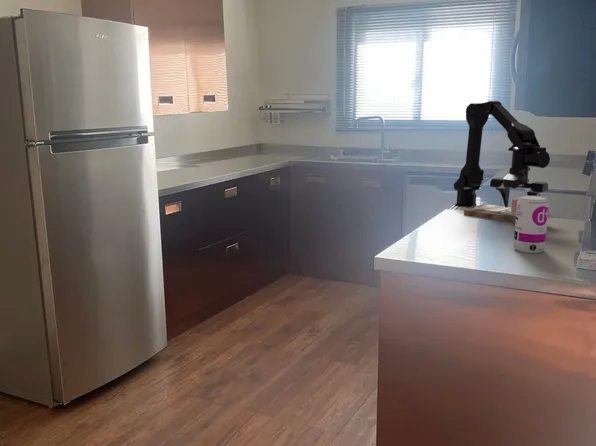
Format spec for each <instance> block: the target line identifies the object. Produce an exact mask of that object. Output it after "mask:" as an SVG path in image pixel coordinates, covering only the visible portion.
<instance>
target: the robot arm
mask: <svg viewBox="0 0 596 446" xmlns="http://www.w3.org/2000/svg"><path fill="white" fill-rule="evenodd" d="M490 115H491V116H492V117H493V118H494V119H495V120H496V121H497V122H498V123H499V125H501V126H502V128H503V129H504V130H505V131H506V134H507V138H508V139H509V141H510V142H511V144H512V145H511V146H510V147H509V148H508V149H507V150H508V151H509V152H512V156H511V167H509V171H508V173H507V174H506V175H505V176H504V177H495V178H492V179H491V180H490V182H489V187H491V188H495V190H497V191H499V193H500V195H501V197H502V200H503V204H504V207H505V208H507V207H508V206H509V200H510V192H511V191H510V190H511V188H512V189H517V188H522V189H525V188H530V191H528V192H527V195H528V196H536V195H537V194H538V193H545V192H547V191H549V183H548V182H546V181H534V182H531V183H530V179H529V171H531V168H540V169H545V168H546V167H547V166H548V165H549V164H550V160H551V157H550V153H549V152H548V151H547V147H546V146H545V147H544V146H542V147H541V145H540V143H539V142H538V139H537V137H536V132H535V130H533V128H531V127H529V126H528V125H526V124H523V123H521V122H519V121H518V120H517V119H516V118H515V117H514V116H513V115H512V114H511V113H510V111H508V110H507V108H506V107H504V106H503V104H502V102H501V101H499V100H488V101H485V102H481V103H473V102H471V103H469V105H467V106H466V108H465V120H466V122H467V125H468V137H467V146H466V147H467V148H466V156H465V164H464V165H463V167H462V168H461V170H460V173H459V177H458V179H457V180H456V181H455V182H454V184H453V189H454V191H457V193H456V203H454V206H460V207H467V208H472V207H476V206H478V205H477V194H476V191H479V190H480V187H481V185H482V182H483V181H484V173H485V171H484V169H481V166H480V156H481V148H482V147H481V146H482V138H483V131H484V130H483V129H484V126H485V125H486V123H487V122H488V120H489V117H490Z"/></svg>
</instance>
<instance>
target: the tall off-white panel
mask: <svg viewBox="0 0 596 446" xmlns="http://www.w3.org/2000/svg"><path fill="white" fill-rule="evenodd" d="M519 198H520V196H519V197H515V198H512V199H511V209H508V210H504V211H501V212H500V214H507V215H514V216H516V209H517V201H518V200H519Z"/></svg>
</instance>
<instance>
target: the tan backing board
mask: <svg viewBox="0 0 596 446" xmlns="http://www.w3.org/2000/svg"><path fill="white" fill-rule="evenodd" d="M511 208H512V206H511V207H510V206H509V207H507V208H505V206H501V205H493V204H486V203H485V204H484V203H483V204H480V205H475V206H472V207H468V208H465V209H463V216H466V217H472V218H479V219H486V220H493V221H498V220H500V221H499V222H505V221H508V222H507V223H511V222H514V223H513V224H515V220H516V216H514V215H507V214H500V212H501V211H504V210H508V209H511Z"/></svg>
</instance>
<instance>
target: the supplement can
mask: <svg viewBox="0 0 596 446" xmlns="http://www.w3.org/2000/svg"><path fill="white" fill-rule="evenodd" d="M519 197H520V198H519V200H518V201H517V209H516V220H515V223H514V237H513V244H512V247H513V248H514V249H515V251H517V252H519V253H520V252H521V253H525V254H539V253H542V252H543V251H545V250H546V241H547V240H546V239H547V231H548V230H547V228H548V220H549V219H548V217H549V209H550V208H549V207H550V203H549V201H548V198H547V197H545V196H525V195H520V196H519Z"/></svg>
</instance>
